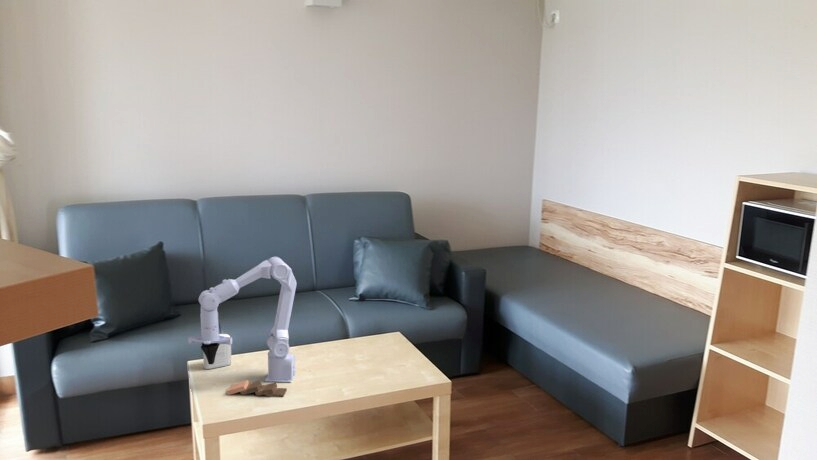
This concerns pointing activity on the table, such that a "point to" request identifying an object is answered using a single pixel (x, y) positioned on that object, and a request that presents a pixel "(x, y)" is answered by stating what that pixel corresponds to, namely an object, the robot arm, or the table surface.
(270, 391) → the walnut domino
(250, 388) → the walnut domino
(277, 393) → the walnut domino
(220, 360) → the white box with text
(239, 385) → the terracotta domino
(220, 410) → the table surface
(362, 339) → the table surface
